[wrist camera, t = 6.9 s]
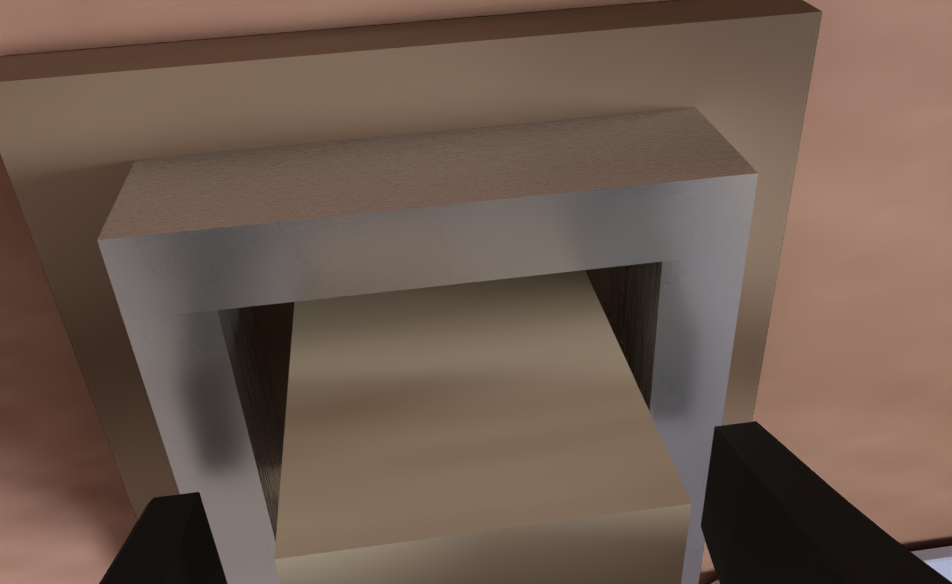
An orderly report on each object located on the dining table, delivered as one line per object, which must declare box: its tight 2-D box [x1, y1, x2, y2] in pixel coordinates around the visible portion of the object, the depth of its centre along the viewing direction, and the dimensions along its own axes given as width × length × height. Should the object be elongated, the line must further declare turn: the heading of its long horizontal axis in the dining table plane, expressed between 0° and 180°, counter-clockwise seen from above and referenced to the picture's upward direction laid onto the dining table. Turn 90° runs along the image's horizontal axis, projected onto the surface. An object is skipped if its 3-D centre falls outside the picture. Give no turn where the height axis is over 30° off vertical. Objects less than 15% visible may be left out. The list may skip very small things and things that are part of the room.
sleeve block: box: [274, 270, 691, 584], centre depth 13 cm, size 4×4×6 cm
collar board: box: [0, 0, 822, 584], centre depth 15 cm, size 11×12×4 cm
